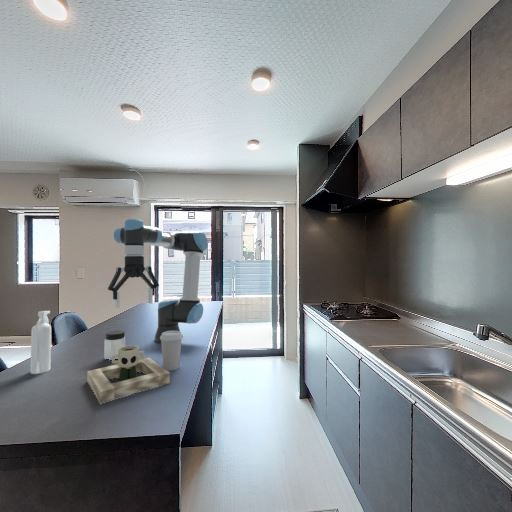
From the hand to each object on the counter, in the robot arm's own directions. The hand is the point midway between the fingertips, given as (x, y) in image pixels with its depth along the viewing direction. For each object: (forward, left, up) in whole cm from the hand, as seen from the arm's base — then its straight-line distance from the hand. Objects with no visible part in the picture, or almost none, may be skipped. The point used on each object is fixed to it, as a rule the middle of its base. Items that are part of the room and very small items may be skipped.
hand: (134, 305), depth 116 cm
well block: (+6, +12, -27) cm, 30 cm away
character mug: (+6, +12, -27) cm, 30 cm away
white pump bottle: (+30, -23, -27) cm, 47 cm away
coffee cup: (-13, +9, -27) cm, 31 cm away
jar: (+2, -21, -27) cm, 35 cm away
